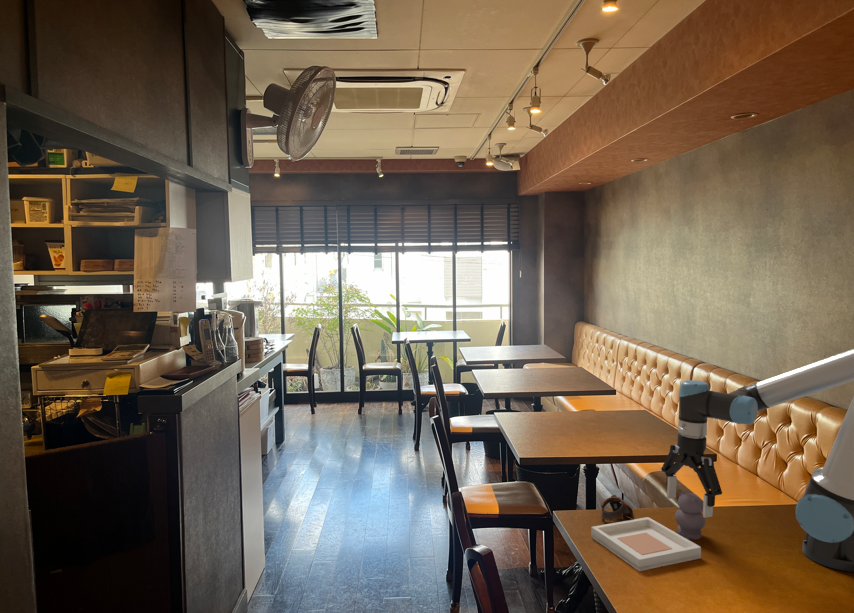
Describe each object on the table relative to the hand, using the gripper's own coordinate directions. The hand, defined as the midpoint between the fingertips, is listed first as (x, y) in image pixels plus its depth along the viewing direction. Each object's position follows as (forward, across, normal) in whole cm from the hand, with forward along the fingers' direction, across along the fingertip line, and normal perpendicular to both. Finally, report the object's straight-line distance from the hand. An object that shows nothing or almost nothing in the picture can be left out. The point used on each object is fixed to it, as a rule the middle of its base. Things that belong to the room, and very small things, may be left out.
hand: (688, 506), depth 164 cm
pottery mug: (+9, -15, -13) cm, 21 cm away
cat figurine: (+8, 0, 0) cm, 8 cm away
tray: (+8, +2, -18) cm, 20 cm away
